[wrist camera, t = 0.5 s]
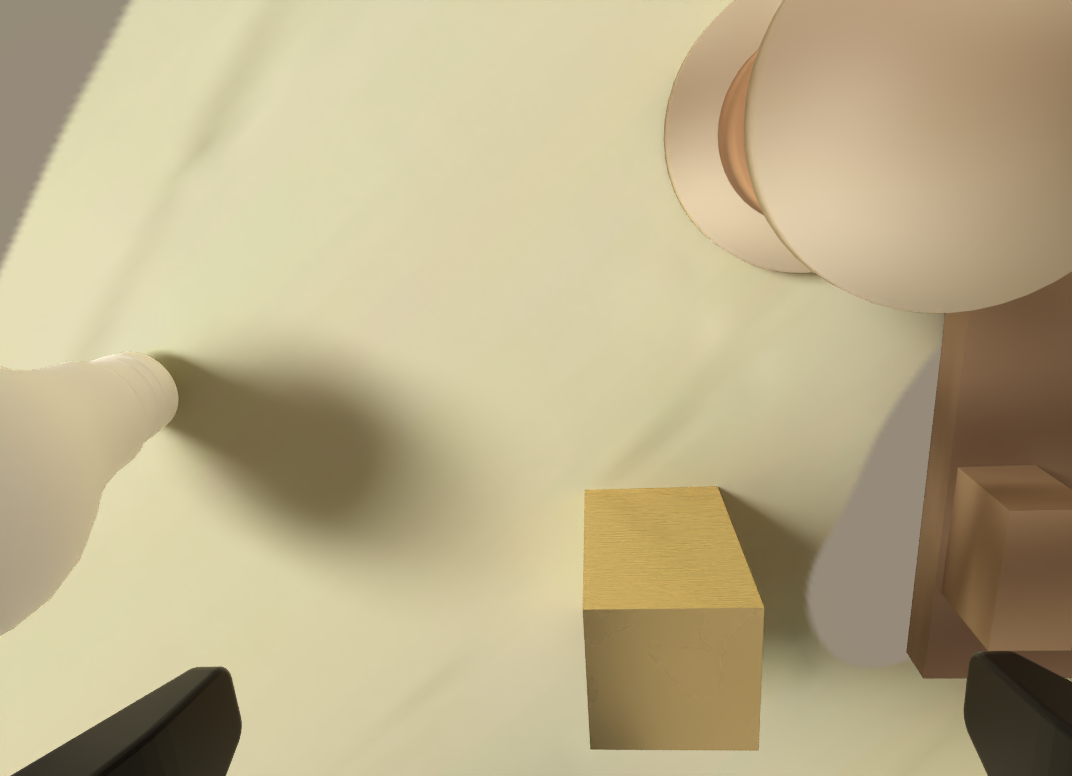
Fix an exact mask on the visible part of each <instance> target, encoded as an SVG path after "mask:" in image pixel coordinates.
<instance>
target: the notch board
mask: <svg viewBox="0 0 1072 776" xmlns="http://www.w3.org/2000/svg"><path fill="white" fill-rule="evenodd" d="M979 651H1011V652H1015V653H1017V654H1019V655H1021V656H1023V657H1025V658H1027V659H1029V660H1030V661H1032V662H1034V663H1036V664H1038V665H1040V666H1042V667H1044V668H1046V669H1048V670H1050V671H1052V672H1054V673H1055V674H1057V675H1059V676H1061V677H1063V678H1072V272H1070V273H1068V274H1067V275H1065V276H1064V277H1062V278H1060V279H1059V280H1057V281H1055V282H1054V283H1052V284H1049V285H1047V286H1045V287H1043V288H1041V289H1039V290H1037V291H1035V292H1033V293H1031V294H1029V295H1026V296H1023V297H1020V298H1017V299H1014V300H1012V301H1009V302H1006V303H1003V304H1000V305H995V306H991V307H987V308H982V309H978V310H973V311H964V312H954V313H945V322H944V331H943V339H942V348H941V357H940V365H939V374H938V383H937V391H936V400H935V409H934V418H933V427H932V435H931V444H930V452H929V461H928V470H927V479H926V488H925V496H924V504H923V514H922V522H921V531H920V540H919V548H918V557H917V566H916V575H915V583H914V592H913V600H912V609H911V617H910V626H909V635H908V643H907V653H908V655H909V657H910V658H911V660H912V661H913V663H914V664H915V666H916V667H917V669H918V671H919V672H920V674H921V675H922V677H923V678H967V674H968V665H969V661H970V658H971V656H972V655H973V654H974V653H976V652H979Z"/></svg>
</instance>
